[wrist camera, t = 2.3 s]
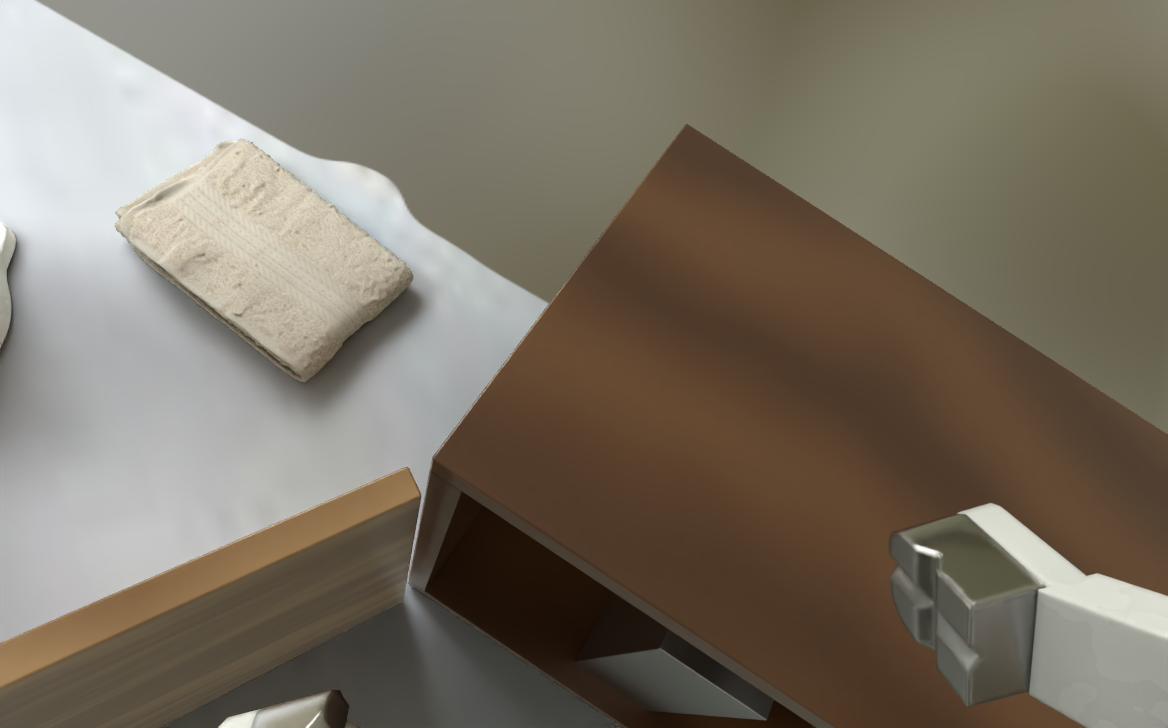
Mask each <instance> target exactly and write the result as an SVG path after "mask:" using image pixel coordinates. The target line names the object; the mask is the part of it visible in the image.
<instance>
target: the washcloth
mask: <svg viewBox="0 0 1168 728" xmlns="http://www.w3.org/2000/svg"><path fill="white" fill-rule="evenodd" d="M116 214H117V216H118V217H119V220H118V221H117V222H116V223H115V227H116V230H117V231H118V232H120V233H121V235H122V236H123V237H125V238H126V239H127V241H128V242H129V243H130V244H132V246H133V247H134V249H135V251H136V252H137V254H138V255H139V256H140V257H141V258H142V259H143V261H145V262H146V263H147V264H148V265H149V266H150V267H152V268H153V269H154V270H155V271H156V272H158V273H159V274H160V275H161V276H162V277H164V278H165V279H167V280H168V281H169V282H171V283H173V284H174V285H175V286H177V287H178V288H179V289H180V290H182V291H183V292H184V293H185V294H186V295H188V296H189V297H190V298H191V299H192V300H193V301H194V302H196V303H197V304H198V305H199V306H201V307H203V308H204V309H205V310H206V311H207V312H208V313H210V314H211V315H212V316H213V317H215V318H216V319H217V320H218V321H220V322H221V323H223V324H225V325H226V326H227V327H229V328H230V329H231V330H232V331H233V332H235V333H236V334H237V335H239V336H240V337H241V338H242V339H244V340H245V341H246V342H247V343H249V344H250V345H251V346H253V347H254V348H255V349H256V350H257V351H258V352H260V353H261V354H262V355H264V356H265V357H266V358H268V359H269V360H270V361H271V362H272V363H273V364H275V365H276V366H278V367H279V368H280V369H282V370H283V371H284V372H286V373H287V374H289V375H290V376H292V377H293V378H295V379H296V380H298V381H301V382H306V381H307V380H308V379H310V378H311V377H312V376H314V375H315V374H316V373H317V372H318V371H319V370H320V369H321V368H322V367H324V365H325V364H326V363H327V362H328V361H329V360H331V359H332V357H333V356H334V355H335V353H336V352H337V351H338V349H339V348H340V347H341V346H343V344H342V343H343V342H344V341H345V340H346V339H347V338H348V337H349V336H351V335H352V334H353V333H354V332H355V331H356V330H358V329H359V328H360V327H361V326H362V324H364V323H366V322H367V321H371V320H372V319H374V318H375V317H376V316H377V315H379V314H380V313H381V312H382V311H383V309H384V308H385V307H386V306H388V305H389V304H390V303H391V301H393V300H394V299H397V297H398V295H399V294H401V293H402V291H404V290H405V288H406V287H407V286H408V285H409V284H410V283H411V282H412V280H413V274H412V271H411V270H410V268H408V267H407V266H406V263H405V262H404V261H401V260H399V259H398V258H397V257H396V256H395V255H394V254H393V253H392V252H391V251H388V250H387V249H386V248H385V247H382V246H381V244H379V242H378V241H376V240H374V239H372V238H371V237H369V235H368V234H367V233H366V232H365V231H364V230H361V229H359V228H358V227H357V226H356V225H355V224H353V223H352V222H351V221H350V220H349V219H348V218H346V217H345V216H343V215H342V214H340V213H339V211H338V210H337V209H336V208H335V207H334V205H332V206H331V205H330V204H329V203H327V202H326V201H325V200H323V199H321V197H320V196H319V195H317V194H315V192H313V191H312V189H310V188H309V187H307V186H306V185H304V184H302V183H301V182H300V181H298V180H297V179H296V178H295V177H294V176H293V175H292V174H290V173H289V172H288V171H286V170H285V169H284V168H281V167H280V165H279V164H278V163H276V162H275V161H274V160H273V159H271V157H270V156H269V155H267V154H265V152H264V151H262V150H261V149H259V148H258V147H257V146H255V145H254V144H253V142H249V141H246V140H244V139H239V140H237V141H235V142H230V141H225V142H220V143H218V144H217V147H216V148H215V149H214V150H213V152H212V153H210V154H209V155H207V156H206V157H204V158H203V159H202V160H201V161H199V162H197V163H196V164H194V165H192V166H190V167H188V168H186V169H185V170H183V171H182V172H180V173H178V174H177V175H175V176H173V177H171V178H170V179H168V180H166V181H165V182H163V183H161V184H159V185H157V186H156V187H153V188H151V189H150V190H148V191H147V192H145V193H144V194H142V195H141V196H139V197H138V198H136V199H135V200H133V201H131V202H130V203H129V204H127V205H125V206H123V207H120V208H118V209H117V211H116Z"/></svg>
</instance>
